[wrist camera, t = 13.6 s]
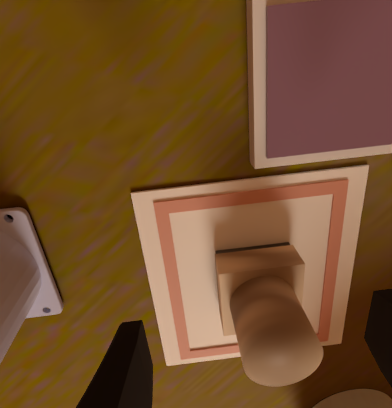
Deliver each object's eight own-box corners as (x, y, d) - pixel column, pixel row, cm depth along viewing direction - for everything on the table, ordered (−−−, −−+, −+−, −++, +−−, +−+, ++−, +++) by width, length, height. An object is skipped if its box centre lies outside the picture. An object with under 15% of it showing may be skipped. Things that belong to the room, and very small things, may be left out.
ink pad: (249, 161, 18) (256, 170, 16) (246, -4, 14) (253, -10, 13) (386, 146, 18) (404, 153, 17) (416, -22, 14) (441, -30, 13)
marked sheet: (166, 363, 25) (166, 367, 24) (131, 192, 18) (130, 194, 18) (340, 341, 25) (342, 345, 25) (367, 164, 18) (370, 166, 18)
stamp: (218, 307, 22) (235, 398, 16) (213, 249, 20) (231, 330, 14) (287, 298, 22) (328, 385, 16) (290, 240, 20) (338, 316, 14)
